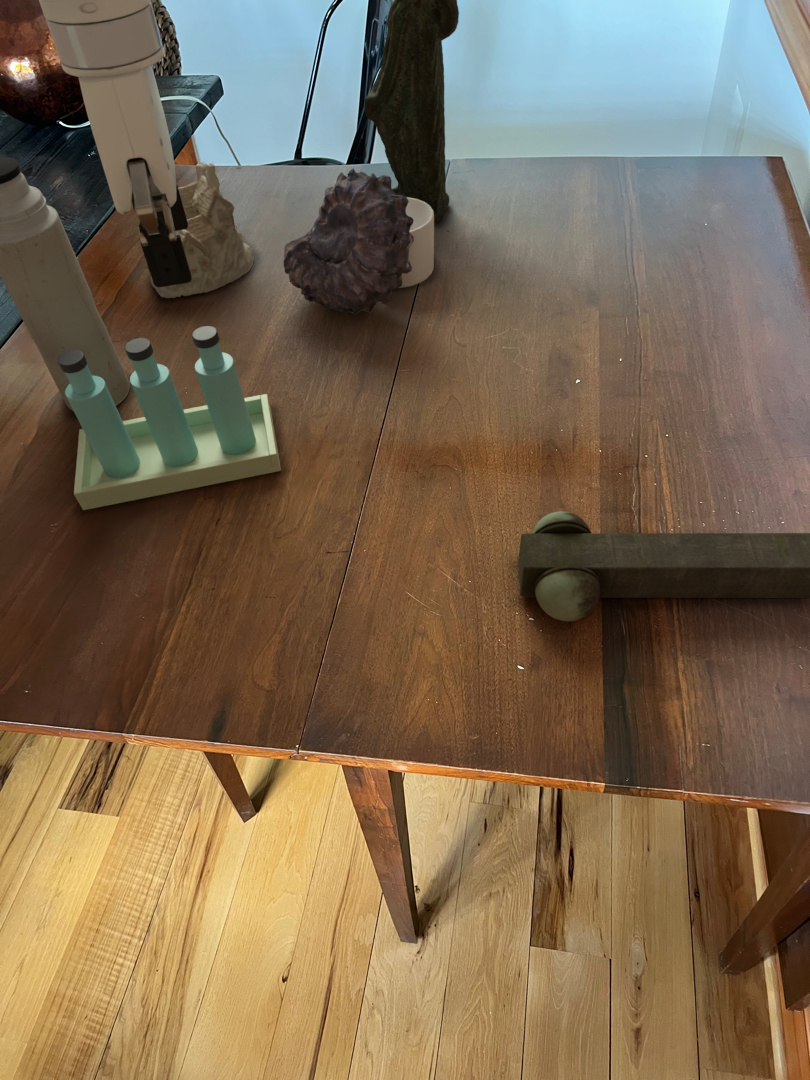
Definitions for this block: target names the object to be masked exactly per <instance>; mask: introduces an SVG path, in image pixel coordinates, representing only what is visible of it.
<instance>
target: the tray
mask: <svg viewBox="0 0 810 1080" xmlns="http://www.w3.org/2000/svg"><path fill="white" fill-rule="evenodd" d="M244 399H245V403H246V406H247V410H248V413H249V417H250V420H251V424H252V427H253V431H254V434H255V438H256V442H255V445H254V446H253V448H252V449H250V450H249V451H247V452H245V453H243V454H238V455H231V454H228V453H226V452H224V451H223V450H222V448H221V446H220V443H219V440H218V437H217V434H216V431H215V428H214V425H213V422H212V419H211V416H210V413H209V410H208V407H207V404H205V405H200V406H195V407H190V408H185V409H184V408H183V410H184V413H185V416H186V419H187V421H188V424H189V427H190V429H191V432H192V435H193V438H194V440H195V443H196V446H197V448H198V454H197V456H196V458H195V459H194V460H193V461H191V462H190V463H188V464H186V465H183V466H177V467H175V466H169V465H167V464H166V463H165V462H164V461H163V459H162V457H161V454H160V452H159V449H158V447H157V445H156V442H155V440H154V437H153V435H152V433H151V430H150V428H149V426H148V423H147V421H146V418H145V416H143V417H142V416H141V417H137V418H132V419H127V420H122V421H123V423H124V426H125V428H126V430H127V432H128V434H129V437H130V439H131V441H132V443H133V445H134V448H135V450H136V452H137V454H138V457H139V459H140V465H139V467H138V468H137V470H136V471H135V472H133V473H132V474H130V475H128V476H126V477H122V478H112V477H109V476H108V475H106V473H105V472H104V470H103V468H102V466H101V464H100V462H99V460H98V458H97V456H96V454H95V452H94V450H93V448H92V446H91V444H90V442H89V440H88V438H87V436H86V434H85V432H84V430H83V428H80V429H78V440H77V441H78V442H77V452H76V466H75V476H74V488H73V495H74V497H75V499H76V501H77V502H78V504H79V506H80V507H81V509H82V511H86V510H92V509H97V508H103V507H107V506H112V505H117V504H122V503H126V502H132V501H137V500H142V499H147V498H152V497H157V496H162V495H168V494H172V493H176V492H181V491H187V490H192V489H197V488H201V487H207V486H211V485H212V486H213V485H218V484H223V483H227V482H232V481H237V480H242V479H243V480H244V479H246V478H252V477H257V476H262V475H267V474H272V473H277V472H281V471H282V467H281V462H280V456H279V449H278V444H277V437H276V432H275V426H274V419H273V413H272V408H271V404H270V400H269V396H268V394H267V393H264V394H258V395H253V396H248V397H244Z"/></svg>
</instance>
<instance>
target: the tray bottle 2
mask: <svg viewBox="0 0 810 1080" xmlns="http://www.w3.org/2000/svg"><path fill="white" fill-rule="evenodd" d="M124 350H125V353H126V355H127V357H128V359H129V360H130V361H131V364H132V367H133V368H134V371H133V372H132V373H131V374H130V377H129V384H130V386H131V388H132V390H133V393H134V395H135V397H136V399H137V402H138V404H139V407H140V409H141V412H142V414H143V417H145V418H146V421H147V423H148V426H149V428H150V430H151V433H152V435H153V437H154V440H155V442H156V445H157V447H158V449H159V452H160V454H161V457H162V459H163V461H164V462H165V463H166V464H167V465H169V466H175V467H177V466H183V465H186V464H188V463H190V462H191V461H193V460H194V459H195V458H196V456H197V454H198V448H197V446H196V443H195V440H194V438H193V435H192V432H191V429H190V427H189V424H188V421H187V419H186V416H185V413H184V408H183V404H182V402H181V400H180V397H179V394H178V391H177V388H176V386H175V384H174V380H173V378H172V374H171V373H170V370H169V368H168V367H167V366H166V365H164V364H160V363H157V361H156V358H155V356H154V349H153V345H152V343H151V341H150V340H149V339H148V338H146V337H137V338H133V339H131V340H130V341H128V342H127V343H125V346H124Z"/></svg>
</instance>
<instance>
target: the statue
mask: <svg viewBox="0 0 810 1080" xmlns="http://www.w3.org/2000/svg"><path fill="white" fill-rule="evenodd" d="M459 18H460V11H459V6H458V0H393V1H392V2H391V5H390V7H389V10H388V14H387V18H386V27H387V36H386V39H385V42H384V46H383V49H382V63H381V66H380V69H379V71H378V73H377V75H376V78H375V80H374V83H373V85H372V87H371V90H370V92H369V93H368V95H367V96H365V98H364V101H363V105H364V106H363V107H364V114H365V115H364V116H365V117H366V118H367V120H369V121H371V122H373V124H374V126H375V127H376V131H377V133H378V135H379V137H380V140H381V142H382V144H383V146H384V153H385V157H386V159H387V161H388V164H389V167H390V169H391V171H392V173H393V175H394V179H395V180H396V181H397V185H396V187H394V188H392V190H393V191H394V192H395V193H396V195H403V196H405V197H409V198H415V199H418V200H421V201H424V202H425V203H427V204H428V205H430V207H431V208H432V210H433V211H434V226H436V225H437V224H438V223H439V222H440V220H441V218H442V217H443V215H444V212H445V211H446V209H447V208H448V206H449V205H450V196H449V194H448V193H447V190H446V188H447V187H446V184H447V183H446V181H447V179H446V178H447V177H446V175H447V173H446V117H445V110H446V109H445V64H444V53H443V41H444V40H446V39H447V38H449V37H451V36H452V35H453V34H455V32H456V30H457V28H458V24H459Z"/></svg>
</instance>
